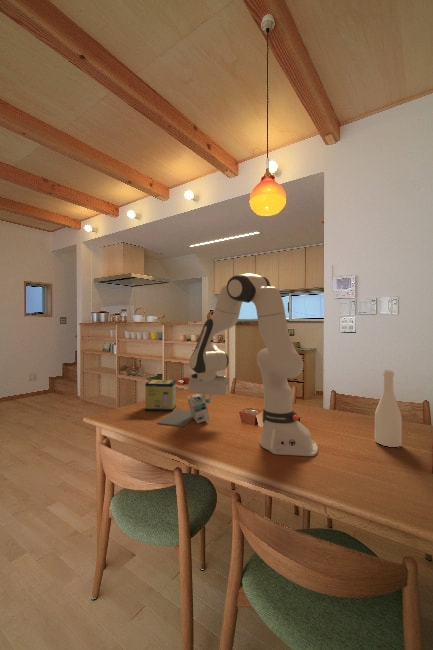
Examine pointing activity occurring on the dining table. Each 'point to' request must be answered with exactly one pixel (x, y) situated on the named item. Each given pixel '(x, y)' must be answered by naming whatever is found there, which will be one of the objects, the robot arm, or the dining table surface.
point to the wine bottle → (388, 415)
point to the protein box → (160, 395)
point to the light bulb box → (198, 408)
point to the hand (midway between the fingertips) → (207, 402)
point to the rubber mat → (177, 418)
